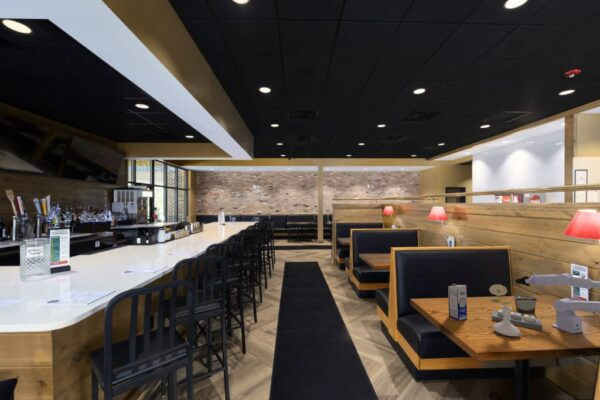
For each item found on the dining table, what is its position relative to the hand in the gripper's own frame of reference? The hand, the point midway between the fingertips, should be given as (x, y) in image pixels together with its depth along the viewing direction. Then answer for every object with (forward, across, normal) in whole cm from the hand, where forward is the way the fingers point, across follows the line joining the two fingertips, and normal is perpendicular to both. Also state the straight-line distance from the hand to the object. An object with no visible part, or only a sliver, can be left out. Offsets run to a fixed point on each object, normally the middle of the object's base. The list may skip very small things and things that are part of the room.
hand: (519, 280), depth 167 cm
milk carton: (+17, +39, +18) cm, 46 cm away
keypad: (0, +13, +21) cm, 25 cm away
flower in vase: (-5, +34, +24) cm, 42 cm away
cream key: (-5, +10, +21) cm, 24 cm away
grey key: (0, +13, +19) cm, 24 cm away
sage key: (+5, +16, +18) cm, 25 cm away
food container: (+7, -5, +19) cm, 21 cm away
